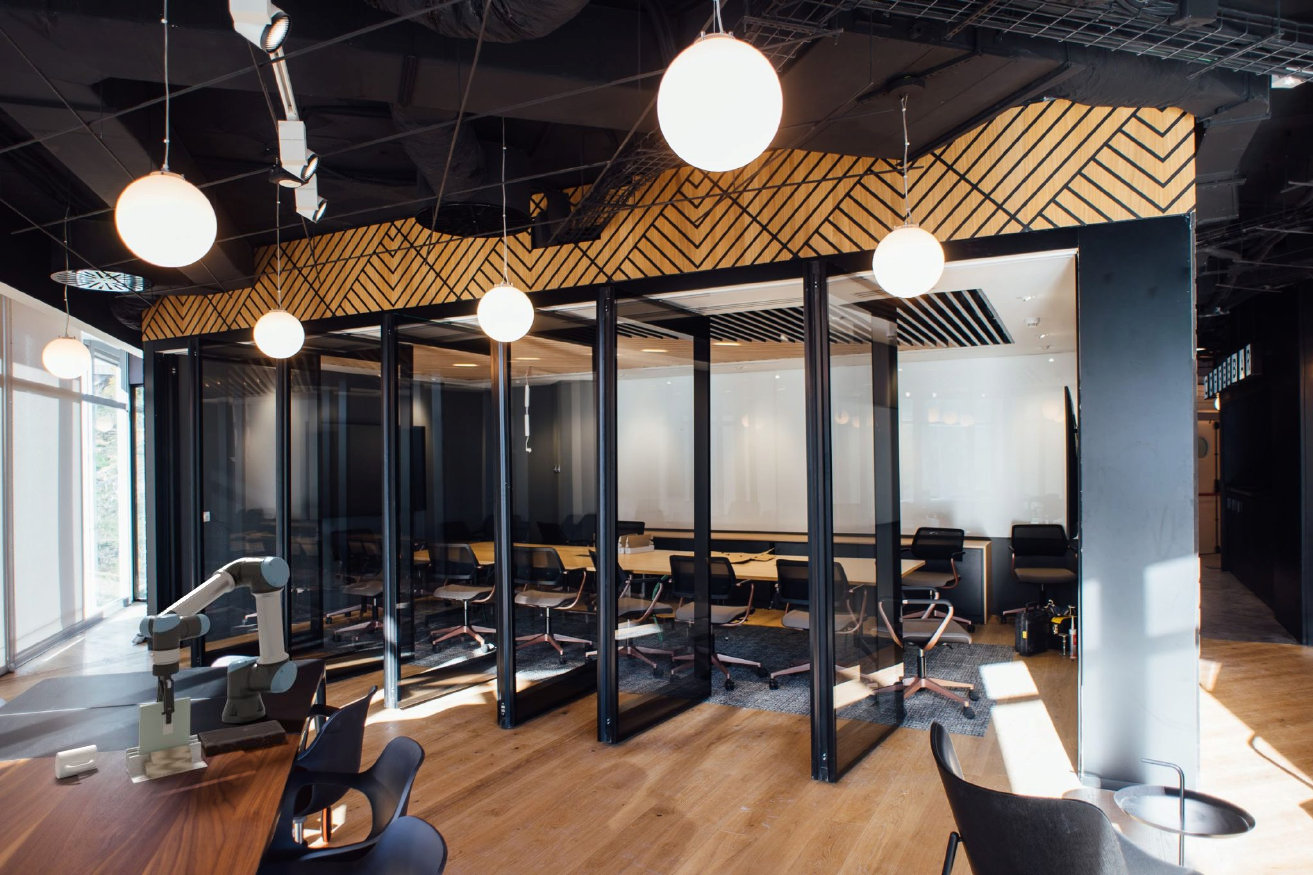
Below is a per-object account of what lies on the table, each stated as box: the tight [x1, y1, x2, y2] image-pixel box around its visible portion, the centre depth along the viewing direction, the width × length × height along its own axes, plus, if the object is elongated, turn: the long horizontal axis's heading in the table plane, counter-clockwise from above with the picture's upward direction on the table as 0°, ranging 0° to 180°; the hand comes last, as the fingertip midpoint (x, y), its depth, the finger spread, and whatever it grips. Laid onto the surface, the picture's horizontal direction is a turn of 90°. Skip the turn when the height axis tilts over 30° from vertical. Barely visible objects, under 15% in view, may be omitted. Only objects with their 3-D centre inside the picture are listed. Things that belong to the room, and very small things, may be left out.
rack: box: [125, 734, 208, 784], centre depth 246 cm, size 20×18×7 cm
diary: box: [198, 719, 287, 757], centre depth 270 cm, size 19×25×5 cm
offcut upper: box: [151, 745, 190, 766], centre depth 244 cm, size 10×5×3 cm, turn 131°
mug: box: [54, 744, 99, 780], centre depth 244 cm, size 12×10×8 cm
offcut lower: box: [145, 756, 192, 777], centre depth 244 cm, size 12×5×3 cm, turn 131°
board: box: [138, 696, 191, 755], centre depth 250 cm, size 14×2×20 cm, turn 131°
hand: (164, 729), depth 250 cm, fingers open, 10 cm apart
